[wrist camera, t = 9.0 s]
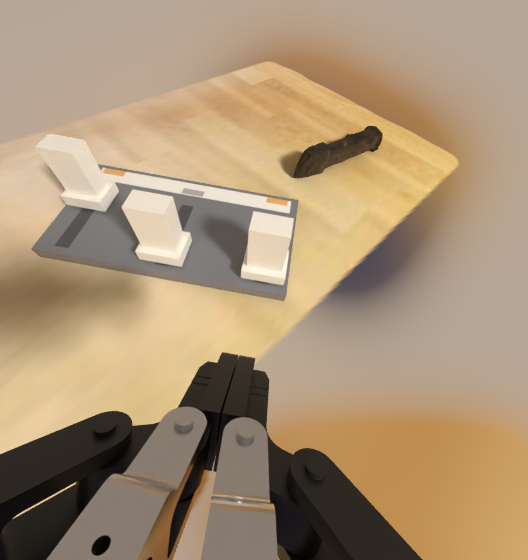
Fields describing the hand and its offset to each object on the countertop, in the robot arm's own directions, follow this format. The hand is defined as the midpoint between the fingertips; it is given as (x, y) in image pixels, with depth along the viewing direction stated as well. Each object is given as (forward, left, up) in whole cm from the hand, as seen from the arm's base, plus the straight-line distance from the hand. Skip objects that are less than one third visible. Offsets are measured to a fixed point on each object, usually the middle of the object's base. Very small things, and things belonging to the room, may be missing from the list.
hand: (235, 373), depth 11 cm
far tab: (-24, +21, -14) cm, 35 cm away
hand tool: (+9, +41, -16) cm, 45 cm away
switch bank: (-12, +20, -15) cm, 28 cm away
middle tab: (-12, +15, -14) cm, 23 cm away
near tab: (0, +15, -14) cm, 20 cm away
